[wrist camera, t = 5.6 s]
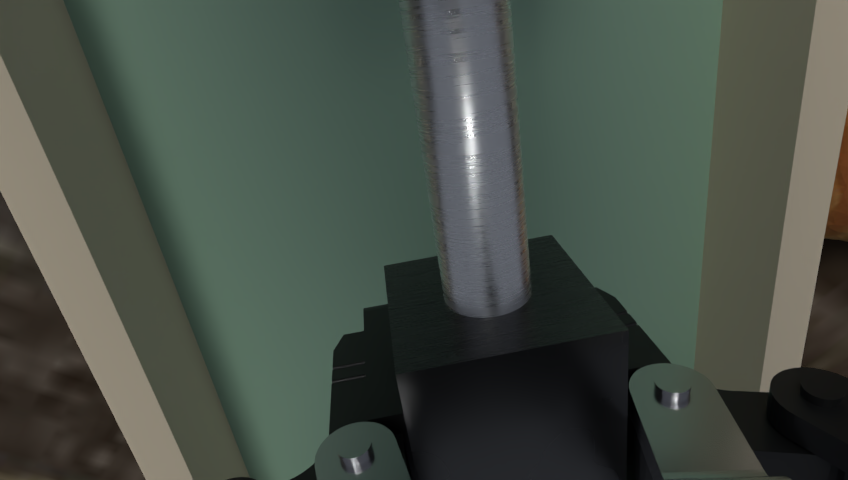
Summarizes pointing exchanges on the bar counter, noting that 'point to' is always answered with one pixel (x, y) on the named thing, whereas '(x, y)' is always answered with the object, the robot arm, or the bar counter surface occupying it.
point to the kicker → (495, 283)
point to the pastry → (839, 195)
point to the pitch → (398, 190)
